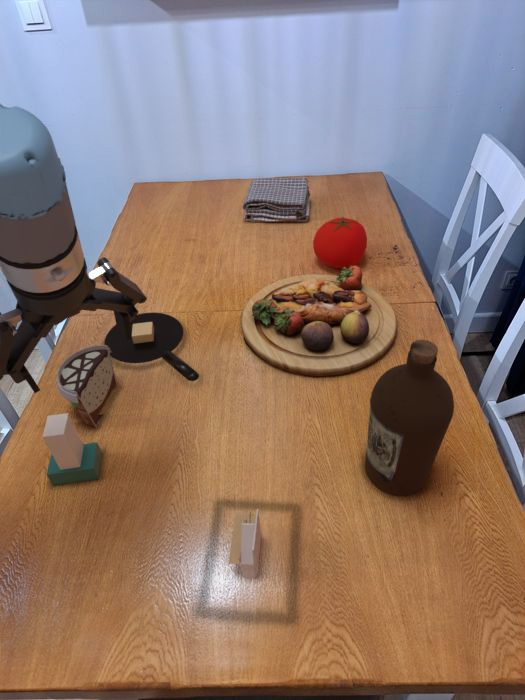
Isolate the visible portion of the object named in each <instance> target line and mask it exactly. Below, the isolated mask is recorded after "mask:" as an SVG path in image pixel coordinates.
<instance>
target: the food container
mask: <svg viewBox="0 0 525 700" xmlns="http://www.w3.org/2000/svg"><path fill="white" fill-rule="evenodd" d="M110 353H111V350H110V348H109V347H108V346H107V345H104V344H99V345H98V344H97V345H92V346H88V347H85V348H82V349H79V350H78V351H76V352H74V353H72V354H71V355H69V356H68V357H66V359H65V360H64V361H63V362H62V363H61V365H60V366H59V368H58V370H57V375H56V380H57V381H56V382H57V389H58V392H59V394H60V395H61V397H62V398H64V399H65V400H67V401H69V402H70V404H71V405H72V407H73V409H74V410H75V412H76V414H77V416H78V417H79V418H80V420H81V422H83V423H84V425H86V426H88V427H91V428H95V429H96V428H97V427H98V425H99V423H100V421H101V420H102V418H103V417H104V414H105V413H104V414H103V413H102V414H100V413H101V411H102V409H103V407H104V406H105V404H106V403H107V401H108V399H109V397H110V396H111V394H112V393H113V391H114V389H115V387H116V385H117V384H118V380H117V377H116V373H115V369H114V365H113V361H112V357H111V356H110Z"/></svg>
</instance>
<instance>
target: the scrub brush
mask: <svg viewBox="0 0 525 700" xmlns="http://www.w3.org/2000/svg"><path fill="white" fill-rule="evenodd" d="M46 417H47V418H46V422H45V426H44V430H43V434H42V439H43V440H44V443H45V445H46V446H47V449H48V450H49V451H50V453H51V454H50V458H49V461H48V466H47V472H46V476H47V479H48V480H49V482H50V484H51V485H52V486H58V485H59V486H60V485H66V484H72V483H79V482H86V481H94V480H99V479H100V472H101V471H100V470H101V463H102V455H103V453H102V450H101V448H100V445H99V443H98V442H97V441H96V442H95V441H94V442H88V443H83V440H82V439H81V437H80V435H79V433H78V431H77V428H76V427H75V424H74V422H73V420H72V418H71V416H70V414H69V412H67V413H58V414H51V415H47V416H46Z"/></svg>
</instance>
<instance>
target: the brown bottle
mask: <svg viewBox="0 0 525 700" xmlns="http://www.w3.org/2000/svg"><path fill="white" fill-rule="evenodd" d="M438 353H439V348H438V346H437V344H435V343H434V341H433V342H432V341H430V340H428V339H416V340H414V341H412V343H411V344H410V347H409V351H408V353H407V357H406V362H405V363H403V364H399V365H396V366H393V367H391V368H389V369H388V370H386V371H385V372H383V373H382V374H381V375H380V377H379V378H378V379H377V381H376V382H375V384H374V386H373V388H372V390H371V395H370V397H369V413H368V414H369V415H368V428H367V429H368V430H367V440H366V451H365V461H364V470H365V474H366V476H367V479H369V481H370V483H371V484H372V485H373V486H374V487H375V488H376V489H378V490H380V491H381V492H383V493H385V494H388V495H390V496H395V497H408V496H412V495H414V494H417V493H419V492H420V491H421V490H423V488H425V485H426V483H427V482H428V479H429V477H430V474H431V470H432V469H433V466H434V463H435V460H436V458H437V455H438V453H439V450H440V448H441V445H442V443H443V441H444V438H445V436H446V434H447V431H448V429H449V426H450V425H451V421H452V420H453V416H454V412H455V399H454V395H453V390H452V388H451V386H450V385H449V383H448V381H447V380H446V378H444V377H443V376H442V374H440V373H439V372H438V371H436V370H435V367H436V363H437V360H438V357H437V356H438Z"/></svg>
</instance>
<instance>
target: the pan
mask: <svg viewBox="0 0 525 700" xmlns="http://www.w3.org/2000/svg"><path fill="white" fill-rule="evenodd" d="M145 322H153V326H154V341H151V342H143V343H135V344H134V343H133V339H130V340H128V341H127V340H126V339H125V337H124V336H123V335H122V333H121V332H120V331H119V329H118V328H117V325H116V324H115V325H114V326H113V327H111V328H110V330H108V332H107V334H106V336H105V338H104V342H103V345H107V346H108V347H109V348H110V350H111V353H110V357H111V359H114V360H116V361H118V362H122V363H127V364H143V363H149V362H154V361H156V360H159V359H163V361H164V362H166V363H167V364H168V365H170V367H172V368H173V369H174V370H175V371H177V372H178V373H179V374H180V375H181V376H182V377H184V378H185V379H186V380H187V381H189V382H195V381H197V380H198V379H199V378H200V374H199V373H198V372H197V371H196V370H195V369H194V368H192V367H191V366H190V365H189V364H188V363H186V362H185V361H184V360H183V359H182V358H180V357H179V356H178V355H176V354H175V353H174V352H173V351H174V350H175V349H176V348H177V347H178V346H179V345H180V343H181V342H182V340H183V338H184V327H183V325H182V322H180V321H179V320H178V319H177V318H176V317H174V316H172V315H170V314H167V313H162V312H143V313H138V314H137V315H136V316H135V318H134V320H133V321H131V322H130V329H131V335H132V327H133V324H137V323H145Z"/></svg>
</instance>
